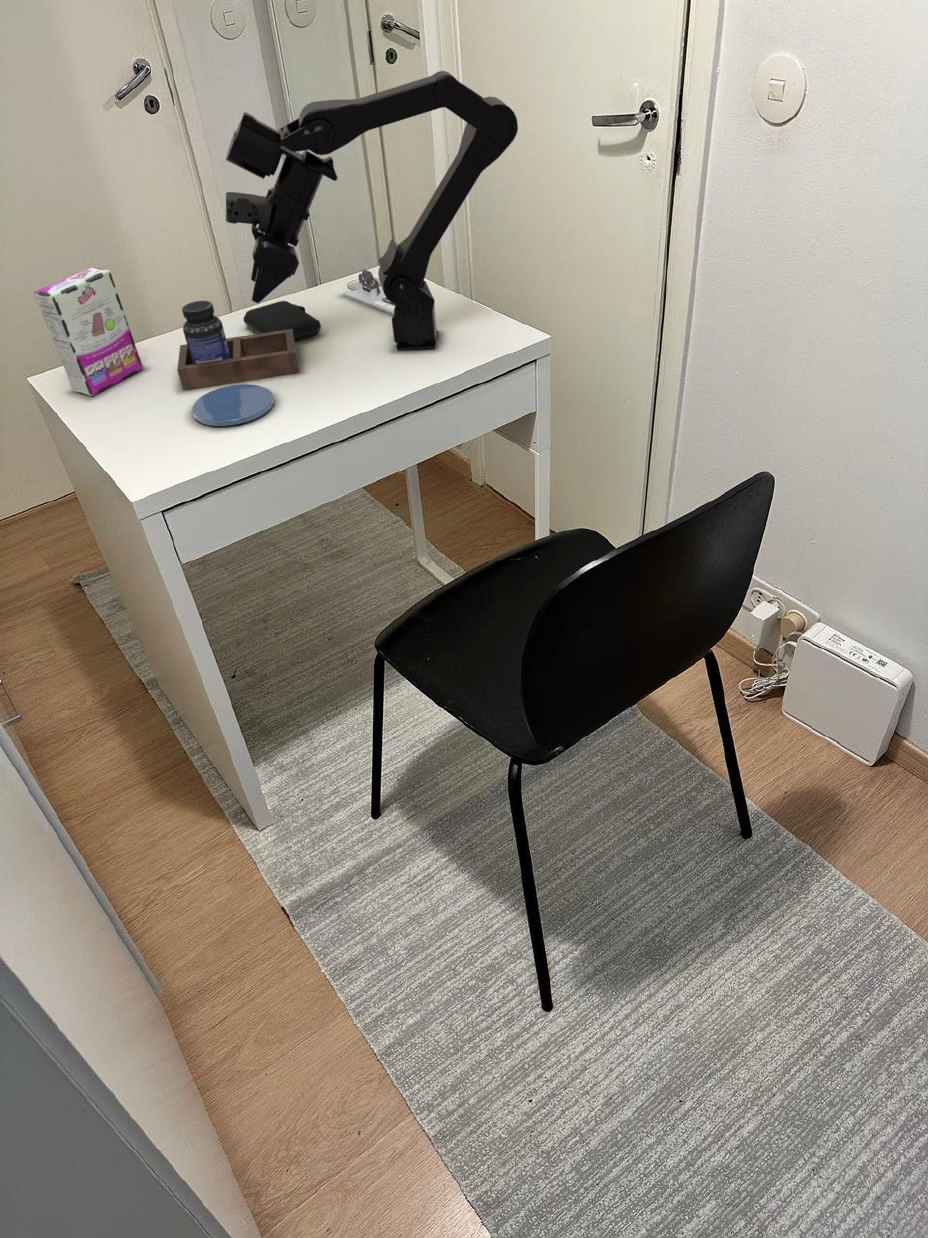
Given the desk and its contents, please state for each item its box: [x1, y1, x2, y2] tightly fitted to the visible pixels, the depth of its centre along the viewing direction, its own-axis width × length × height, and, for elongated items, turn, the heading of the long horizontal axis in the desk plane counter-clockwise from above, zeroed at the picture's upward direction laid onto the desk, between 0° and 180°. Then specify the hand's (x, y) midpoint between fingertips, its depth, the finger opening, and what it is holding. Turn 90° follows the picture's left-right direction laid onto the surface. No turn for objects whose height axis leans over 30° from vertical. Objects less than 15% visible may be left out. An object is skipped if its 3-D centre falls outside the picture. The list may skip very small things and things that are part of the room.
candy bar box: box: [33, 266, 144, 397], centre depth 141 cm, size 11×5×16 cm, turn 148°
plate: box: [192, 383, 275, 427], centre depth 135 cm, size 12×12×1 cm
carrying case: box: [242, 300, 322, 344], centre depth 156 cm, size 11×3×15 cm
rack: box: [176, 329, 301, 391], centre depth 145 cm, size 18×10×4 cm, turn 101°
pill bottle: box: [181, 300, 231, 364], centre depth 142 cm, size 6×6×11 cm
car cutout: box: [344, 269, 396, 316], centre depth 163 cm, size 15×7×4 cm, turn 42°
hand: (254, 291), depth 139 cm, fingers open, 9 cm apart
